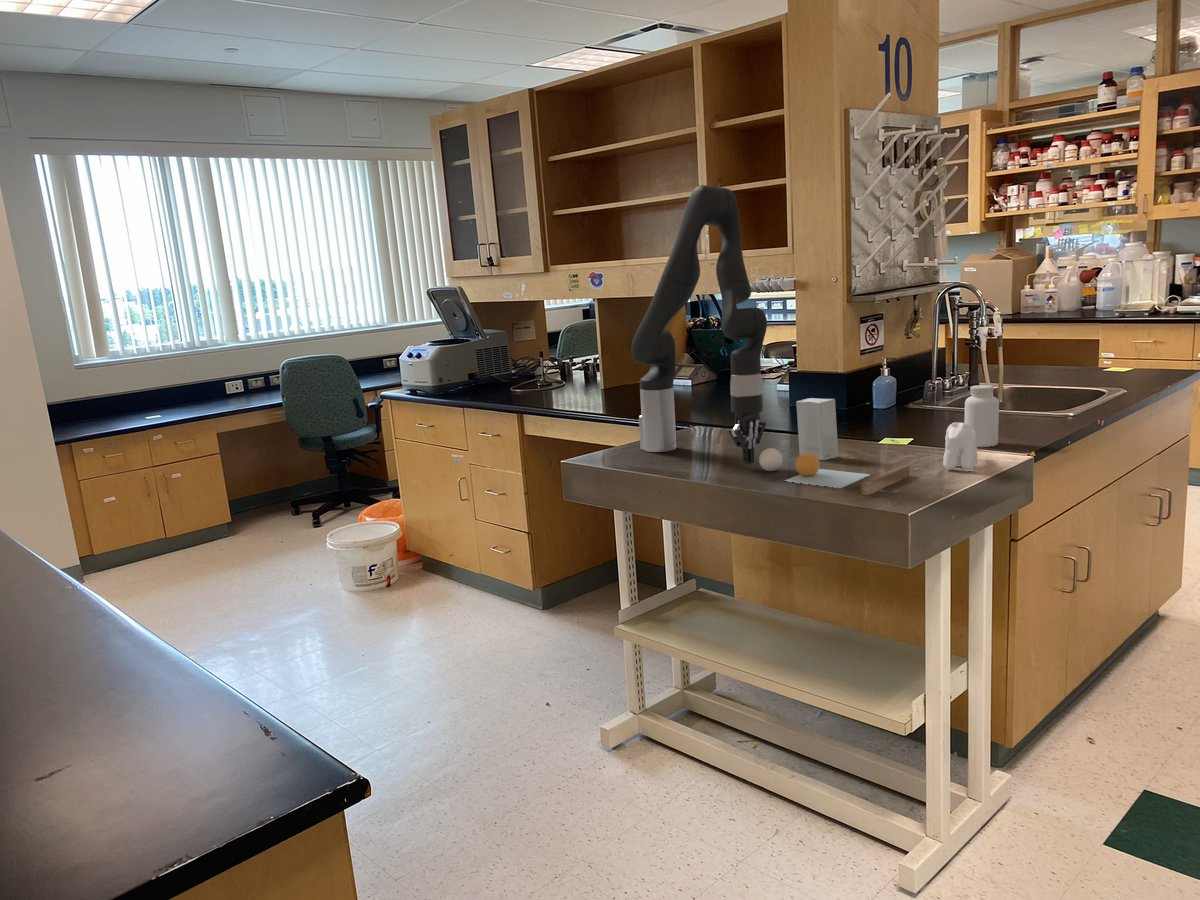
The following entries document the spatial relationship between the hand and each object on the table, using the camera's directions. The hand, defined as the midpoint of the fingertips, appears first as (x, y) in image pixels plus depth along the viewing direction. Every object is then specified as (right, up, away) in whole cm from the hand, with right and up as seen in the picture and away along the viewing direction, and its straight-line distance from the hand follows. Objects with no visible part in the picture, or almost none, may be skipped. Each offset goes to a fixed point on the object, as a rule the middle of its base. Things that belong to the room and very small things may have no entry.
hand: (748, 463), depth 211 cm
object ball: (+12, 0, -11) cm, 16 cm away
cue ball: (+5, +1, -3) cm, 6 cm away
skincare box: (+19, +1, +8) cm, 21 cm away
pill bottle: (+61, +4, +11) cm, 62 cm away
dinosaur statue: (+47, -1, -12) cm, 49 cm away
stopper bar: (+26, -4, -23) cm, 35 cm away
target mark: (+15, -3, -14) cm, 21 cm away
